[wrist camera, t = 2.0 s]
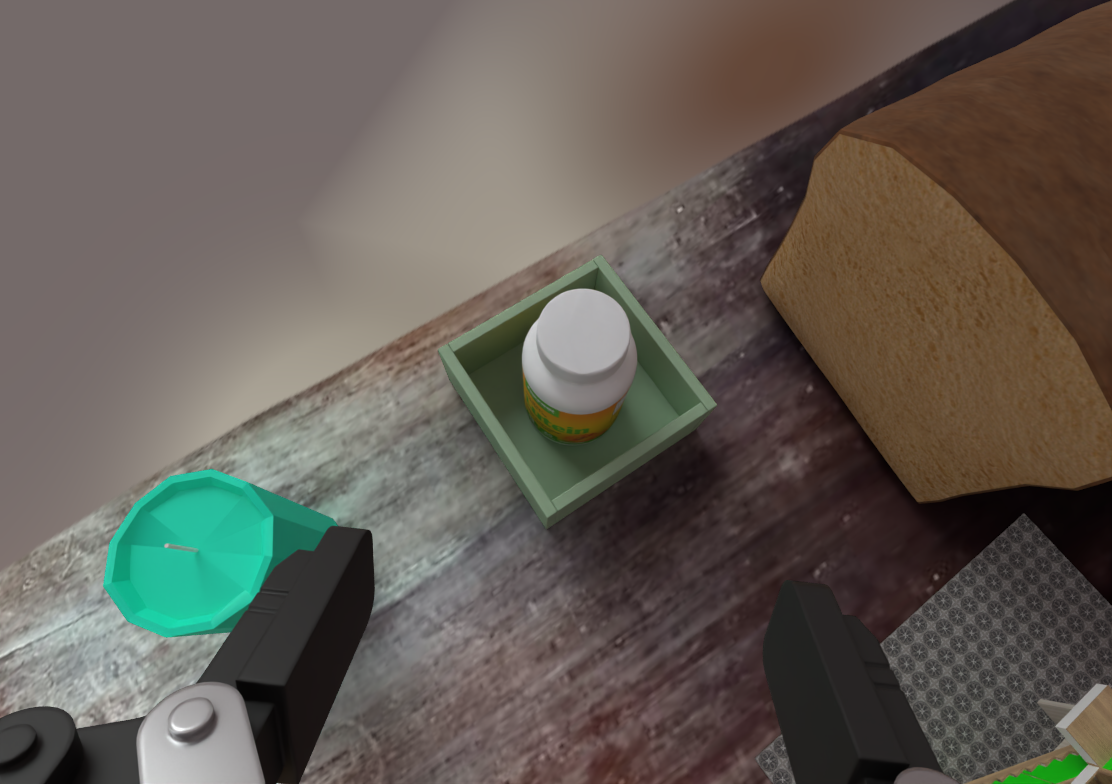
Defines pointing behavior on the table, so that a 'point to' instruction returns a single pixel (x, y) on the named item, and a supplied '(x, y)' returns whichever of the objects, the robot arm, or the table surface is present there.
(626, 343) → the supplement bottle
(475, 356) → the basket
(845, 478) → the table surface
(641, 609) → the table surface
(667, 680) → the table surface
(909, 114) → the bread
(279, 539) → the candle
